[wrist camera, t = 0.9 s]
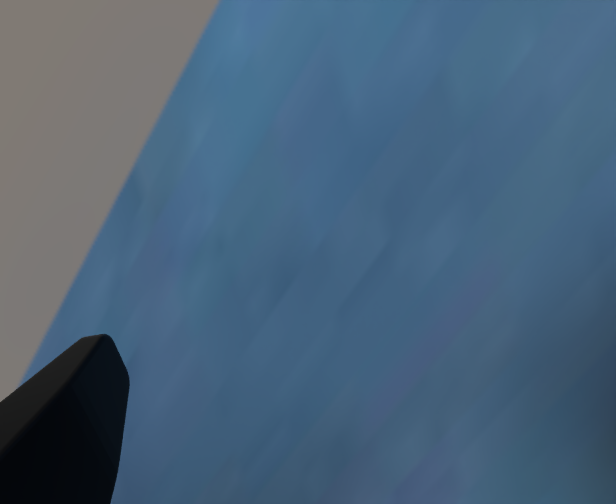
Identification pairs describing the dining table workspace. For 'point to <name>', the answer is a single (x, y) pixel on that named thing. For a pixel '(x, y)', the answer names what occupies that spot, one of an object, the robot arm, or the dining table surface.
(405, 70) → the dining table surface
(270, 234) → the dining table surface
